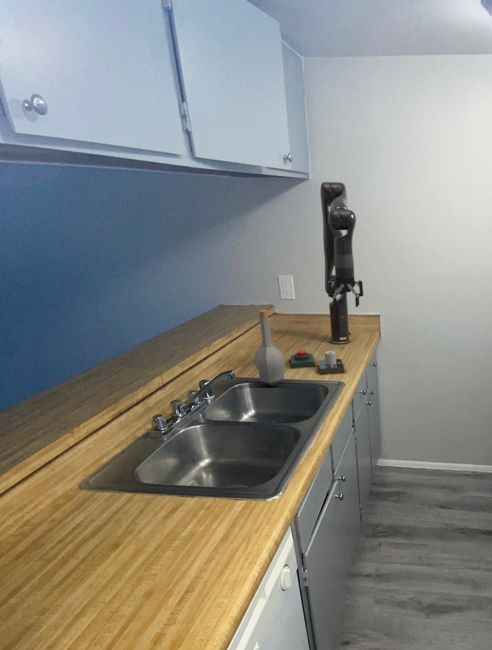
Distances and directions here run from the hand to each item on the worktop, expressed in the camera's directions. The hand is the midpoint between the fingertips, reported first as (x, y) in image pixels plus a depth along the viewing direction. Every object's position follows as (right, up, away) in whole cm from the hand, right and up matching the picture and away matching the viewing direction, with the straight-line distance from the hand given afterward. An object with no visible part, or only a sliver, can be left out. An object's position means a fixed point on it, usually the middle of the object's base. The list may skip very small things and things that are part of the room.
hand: (346, 307), depth 195 cm
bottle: (-29, -34, -6) cm, 45 cm away
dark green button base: (-23, -20, +20) cm, 36 cm away
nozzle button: (-23, -17, +18) cm, 34 cm away
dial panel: (-8, -24, +13) cm, 28 cm away
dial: (-8, -21, +12) cm, 26 cm away
